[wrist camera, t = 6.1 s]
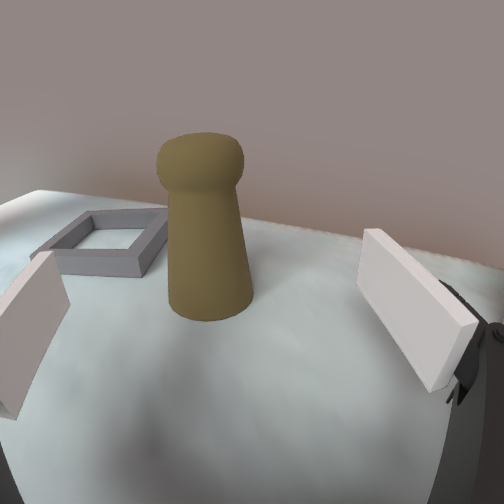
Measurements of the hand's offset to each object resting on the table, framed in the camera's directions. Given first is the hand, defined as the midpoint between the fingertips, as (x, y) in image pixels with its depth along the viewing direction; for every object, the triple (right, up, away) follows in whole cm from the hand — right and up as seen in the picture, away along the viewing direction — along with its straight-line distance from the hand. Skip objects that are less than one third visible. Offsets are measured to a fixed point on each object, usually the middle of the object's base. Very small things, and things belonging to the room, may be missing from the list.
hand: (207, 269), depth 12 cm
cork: (-1, -2, +10) cm, 10 cm away
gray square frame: (-13, +1, +18) cm, 22 cm away
